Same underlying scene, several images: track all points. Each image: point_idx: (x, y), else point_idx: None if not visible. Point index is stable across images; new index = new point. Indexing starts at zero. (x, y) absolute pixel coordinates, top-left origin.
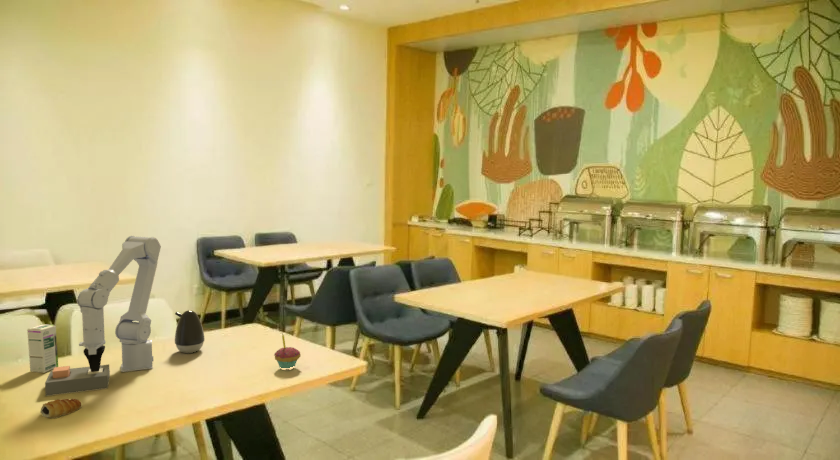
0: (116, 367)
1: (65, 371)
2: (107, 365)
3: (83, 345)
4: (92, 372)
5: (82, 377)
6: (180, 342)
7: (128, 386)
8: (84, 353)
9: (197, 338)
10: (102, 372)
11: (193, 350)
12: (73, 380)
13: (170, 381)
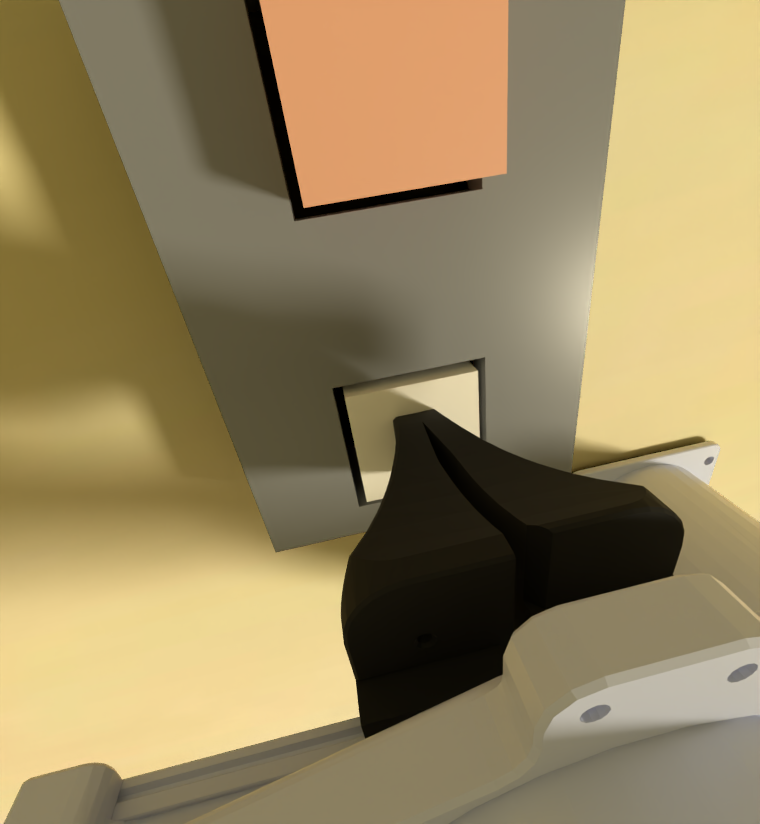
0: (688, 418)
1: (296, 166)
2: None
3: (480, 720)
4: (368, 432)
5: (242, 379)
6: None
7: (299, 570)
8: (352, 572)
9: None
10: (380, 491)
11: None
12: (181, 301)
13: (339, 692)
